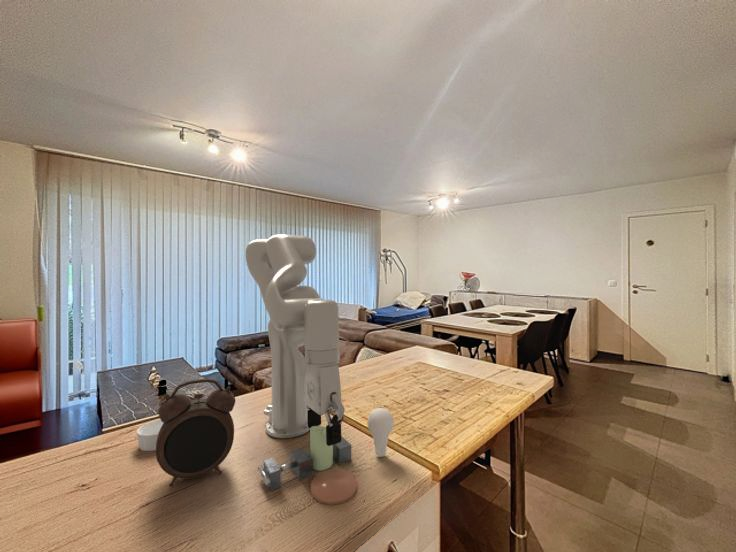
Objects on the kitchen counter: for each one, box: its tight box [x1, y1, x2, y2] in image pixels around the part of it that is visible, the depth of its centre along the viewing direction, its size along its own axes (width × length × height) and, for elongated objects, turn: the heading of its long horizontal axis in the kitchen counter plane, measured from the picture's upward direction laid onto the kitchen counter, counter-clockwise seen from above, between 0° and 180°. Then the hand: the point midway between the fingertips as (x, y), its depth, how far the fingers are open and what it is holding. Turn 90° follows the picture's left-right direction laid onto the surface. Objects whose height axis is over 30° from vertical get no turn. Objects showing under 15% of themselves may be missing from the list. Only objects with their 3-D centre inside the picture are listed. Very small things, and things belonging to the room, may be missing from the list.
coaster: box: [310, 468, 358, 505], centre depth 62 cm, size 9×9×1 cm
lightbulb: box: [367, 407, 395, 458], centre depth 72 cm, size 6×6×11 cm
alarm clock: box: [155, 378, 236, 488], centre depth 65 cm, size 15×7×20 cm, turn 117°
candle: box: [309, 425, 334, 472], centre depth 70 cm, size 5×5×8 cm
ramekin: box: [136, 418, 164, 452], centre depth 78 cm, size 9×9×4 cm
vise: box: [257, 435, 352, 492], centre depth 68 cm, size 6×19×4 cm, turn 124°
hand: (323, 434), depth 69 cm, fingers open, 9 cm apart
